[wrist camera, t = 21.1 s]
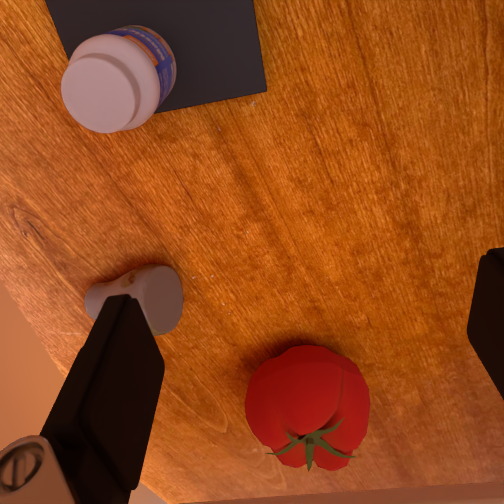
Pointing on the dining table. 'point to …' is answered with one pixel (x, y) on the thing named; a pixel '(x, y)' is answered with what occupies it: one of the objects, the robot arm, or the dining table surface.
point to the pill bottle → (118, 79)
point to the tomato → (309, 407)
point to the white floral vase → (144, 295)
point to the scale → (179, 41)
